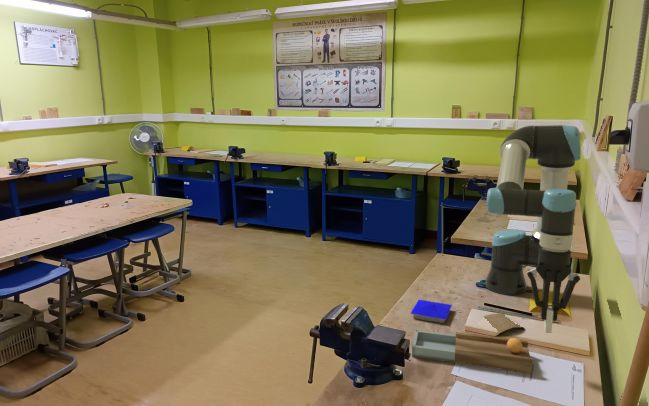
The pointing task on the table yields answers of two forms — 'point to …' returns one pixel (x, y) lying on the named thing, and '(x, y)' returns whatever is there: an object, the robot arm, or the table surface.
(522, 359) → the chute
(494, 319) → the brown curved sheet
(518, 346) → the ball
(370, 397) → the table surface
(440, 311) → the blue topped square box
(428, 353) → the tray
